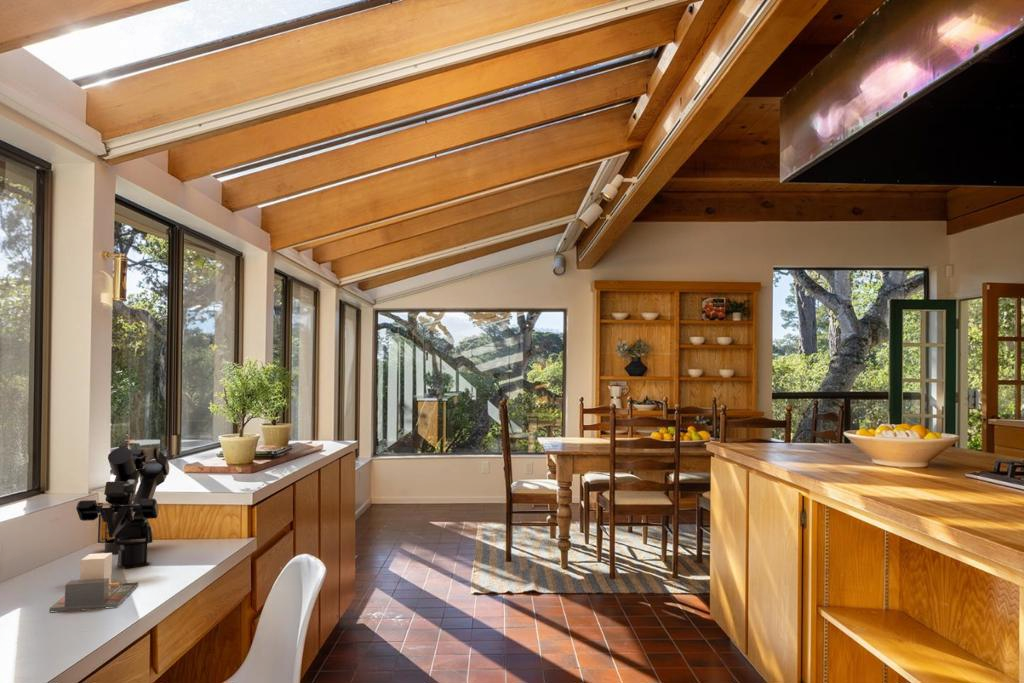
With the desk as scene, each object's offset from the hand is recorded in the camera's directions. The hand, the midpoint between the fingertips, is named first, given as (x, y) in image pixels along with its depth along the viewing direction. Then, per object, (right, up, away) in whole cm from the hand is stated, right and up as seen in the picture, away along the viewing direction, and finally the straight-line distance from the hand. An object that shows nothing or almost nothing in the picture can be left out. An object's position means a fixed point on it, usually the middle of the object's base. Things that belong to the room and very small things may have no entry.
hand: (110, 536), depth 182 cm
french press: (-19, -15, +38) cm, 45 cm away
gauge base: (+3, -12, -11) cm, 17 cm away
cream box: (+3, -10, -12) cm, 16 cm away
